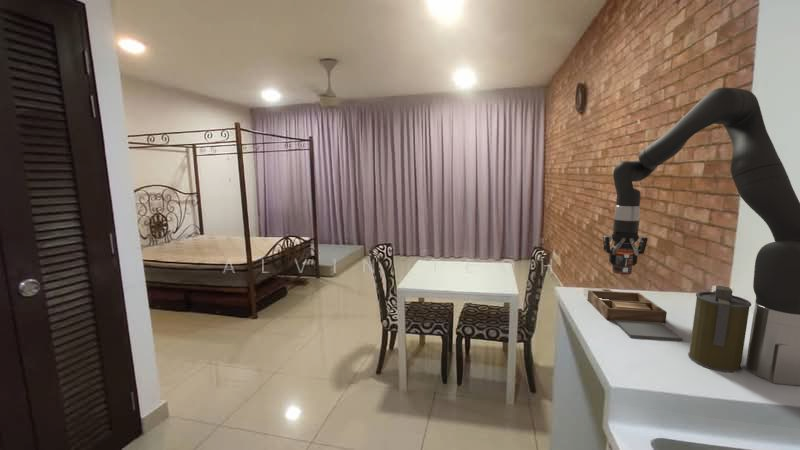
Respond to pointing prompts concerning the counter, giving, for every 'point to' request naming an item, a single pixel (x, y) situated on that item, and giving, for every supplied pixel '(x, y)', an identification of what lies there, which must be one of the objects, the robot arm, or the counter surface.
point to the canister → (719, 330)
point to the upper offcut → (629, 306)
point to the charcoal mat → (647, 330)
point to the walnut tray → (626, 314)
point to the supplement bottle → (623, 260)
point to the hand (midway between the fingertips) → (622, 264)
